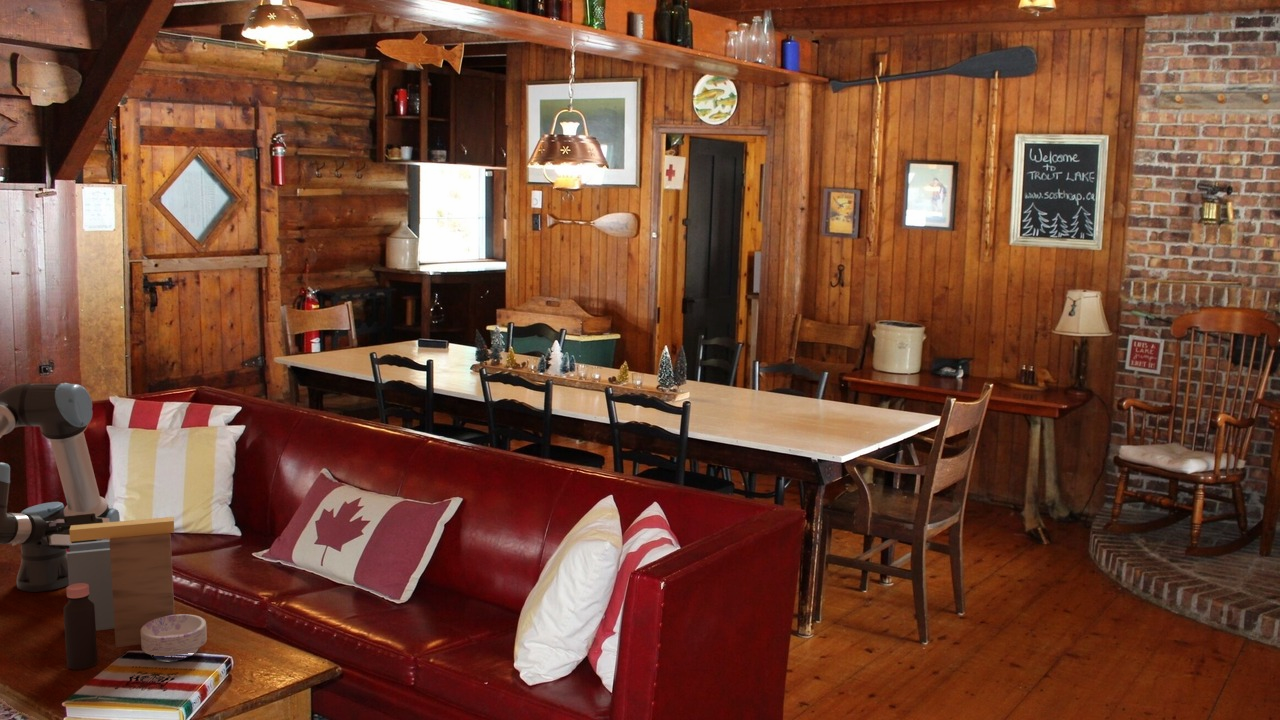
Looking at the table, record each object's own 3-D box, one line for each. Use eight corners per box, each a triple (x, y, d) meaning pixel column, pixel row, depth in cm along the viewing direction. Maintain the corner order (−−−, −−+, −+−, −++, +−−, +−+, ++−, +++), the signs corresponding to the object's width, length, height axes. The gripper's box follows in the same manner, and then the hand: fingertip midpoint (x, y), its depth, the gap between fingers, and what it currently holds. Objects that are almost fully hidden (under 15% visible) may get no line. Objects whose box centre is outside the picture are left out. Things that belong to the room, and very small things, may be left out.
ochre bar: (71, 537, 295) (70, 525, 295) (174, 527, 304) (173, 516, 303) (70, 541, 292) (69, 530, 291) (174, 532, 300) (173, 521, 300)
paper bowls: (170, 672, 283) (168, 641, 282) (128, 659, 290) (126, 628, 289) (220, 650, 296) (219, 620, 295) (179, 638, 303) (178, 609, 302)
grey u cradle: (74, 621, 314) (69, 543, 311) (139, 613, 320) (135, 537, 317) (72, 633, 306) (66, 553, 302) (138, 625, 312) (134, 547, 308)
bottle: (102, 664, 287) (97, 586, 284) (73, 673, 282) (68, 593, 279) (91, 656, 291) (86, 579, 288) (62, 664, 286) (57, 586, 283)
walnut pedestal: (117, 635, 305) (111, 531, 300) (175, 628, 310) (170, 526, 305) (115, 647, 297) (109, 540, 293) (175, 640, 302) (169, 535, 298)
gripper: (-14, 559, 294) (56, 560, 313) (61, 527, 287) (127, 530, 306) (-18, 530, 296) (51, 533, 315) (57, 497, 289) (123, 502, 308)
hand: (89, 531), depth 311 cm, fingers open, 13 cm apart
